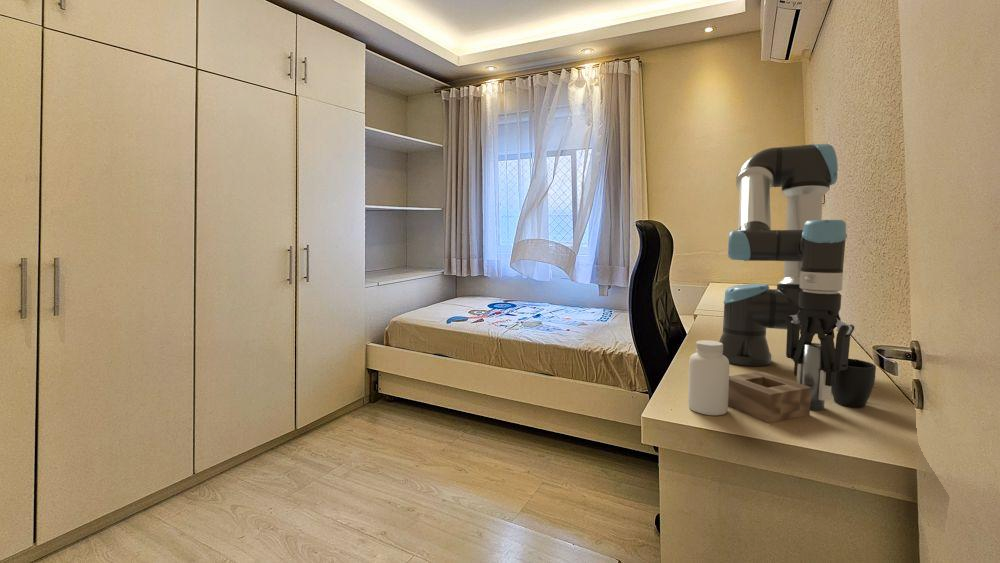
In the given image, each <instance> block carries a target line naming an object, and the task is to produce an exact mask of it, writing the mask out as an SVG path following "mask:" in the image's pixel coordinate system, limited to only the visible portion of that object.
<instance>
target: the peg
mask: <svg viewBox="0 0 1000 563" xmlns="http://www.w3.org/2000/svg"><path fill="white" fill-rule="evenodd" d="M822 369H825V368H824V362H823V356H822V349H821V343H817V342H811V343H806V344H804V353H803V369H802V385H805V386H808V387H811V403H810V411H819V412H820V411H824V410H825V406H826V405H825V404H826V402H825V401H826V400H819V399H818V398H819V384H820V370H822Z"/></svg>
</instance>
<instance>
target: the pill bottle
mask: <svg viewBox="0 0 1000 563" xmlns="http://www.w3.org/2000/svg"><path fill="white" fill-rule="evenodd" d="M695 343H696V344H695V351H696V352H693V353H692V354H691V355H690V357H689V362H688V395H687V396H688V397H687V398H688V399H687V401H688V402H687V403H688V404H687V405H688V407H689V409H690V410H692V411H693V412H696V413H698V414H701V415H704V416H705V415H706V416H723V415H725V414H726V413H727V412H728V409H729V406H728V391H729V376H730V363H729V360H728V359H727V357H725V356H724V355H722V353H723V344H722V343H721V342H719V341H717V340H708V339H706V340H703V339H702V340H701V339H700V340H697V341H696V342H695Z"/></svg>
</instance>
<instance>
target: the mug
mask: <svg viewBox="0 0 1000 563" xmlns="http://www.w3.org/2000/svg"><path fill="white" fill-rule="evenodd" d="M876 367H877V365H876V364H874V363H871V362H869V361H865V360H862V359H861V360H860V359H857V358H848V366H847V369H846V370H841V371H837V372H836V382H835V385H834V386H831V394H832V398H833V402H834V403H835V404H837V405H840V406H843V407H847V408H853V409H862V408H865V407H866V405H867V402H868V400H869V399H870V396H871V394H872V392H873V389H874V386H875V380H876V372H877V371H876V369H877V368H876Z"/></svg>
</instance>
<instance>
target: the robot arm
mask: <svg viewBox="0 0 1000 563" xmlns="http://www.w3.org/2000/svg"><path fill="white" fill-rule="evenodd" d="M837 156H838V155H837V154H836V150H835V147H834V146H833V145H831V144H829V143H817V144H816V143H811V144H802V145H801V144H800V145H791V146H780V147H770V148H766V149H762V150H760V151H758V152H756V153H755V154H753V155H752V156H751V157H749V158H748V159H747V160H746V161H745V162H744V163H742V165H741V166H740V168H739V169H738V172H737V174H736V177H735V178H736V179H735V186H736V189H737V191H738V192H739V193H738V194H739V195H738V196H739V197H738V211H737V212H738V214H737V215H738V216H737V230H731V231H730V232H729V234H728V243H727V244H728V246H727V256H728V258H729V259H730V260H733V261H744V262H748V261H750V262H751V261H752V262H753V261H754V262H755V261H756V262H758V261H759V262H766V261H767V262H784V263H783V278H781V280H780V281H779V282H777V284H776V289H770V287H769V284H766V283H751V284H749V283H748V284H740V285H733V286H729V287H728V288H726V289H725V291H724V297H723V298H724V299H723V321H722V323H723V324H722V334H721V336H720V339H719V341H718V342H721V343H722V344H723V353H722V355H724V356H725V357H727V359H728V360H729V364H733V365H738V366H739V365H740V366H747V367H763V366H764V367H765V366H769V365H771V364H772V354H771V351H770V347H769V344H768V340H767V329H774V330H786V344H785V345H786V346H785V347H786V348H785V350H786V351H785V356H786V359H787V358H788V359H790V360H792V361H793V362H794V368H793V369H794V371H793V375H794V377H796V381H795V382H796V383H799V384H802V369H803V353H804V344H806V343H813V339H814V336H815V335H817V339H818V340H819V341H820V342H819V344H821V349H822V356H823V362H824V368H825V369H822V370H820V384H819V398H818V399H819V400H825V401H827V400H831V396H832V395H831V394H832V391H831V386H834V385H835V382H836V372H837V371H841V370H846V369H847V366H848V359H849V356H850V355H849V352H850V345H851V344H850V343H851V336H852V334H853V332H854V330H855V325H853V324H847V323H845V322H844V321H842V320H841V317H840V313H839V312H840V310H841V307H842V305H841V304H842V294H841V293H839V292H841V291H843V279H844V263H845V262H844V261H845V260H844V259H845V251H846V249H845V248H846V242H847V241H846V239H847V238H848V237H847V236H848V234H847V223H846V221H845V220H842V219H822V218H823V201H824V200H823V198H824V195H826V194H827V193H828V192H829V191H830V188H831V187H830V186H832V185H836V182H837V180H838V170H839V167H838V157H837ZM771 188H781V195H783V196H784V197H785V198H786V214H785V215H786V219H785V229H775V230H774V229H772V228H771V227H772V226H771V223H772V222H771V221H772V220H771V194H770V193H771ZM834 329H836V332H837V333H836V335H835V331H834ZM835 336H836V337H835ZM834 339H835V341H834Z"/></svg>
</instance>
